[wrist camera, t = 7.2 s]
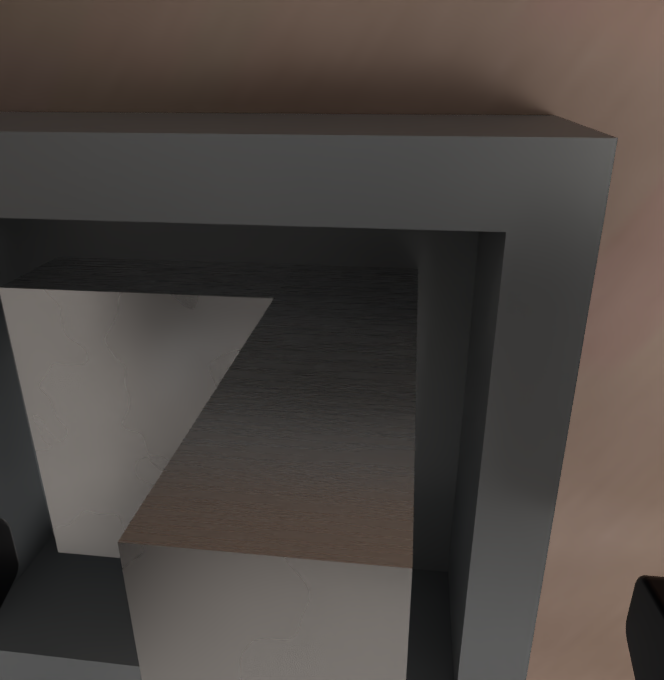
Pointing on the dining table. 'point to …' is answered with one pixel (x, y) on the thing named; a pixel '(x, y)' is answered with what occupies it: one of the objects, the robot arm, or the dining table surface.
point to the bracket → (232, 454)
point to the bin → (334, 250)
